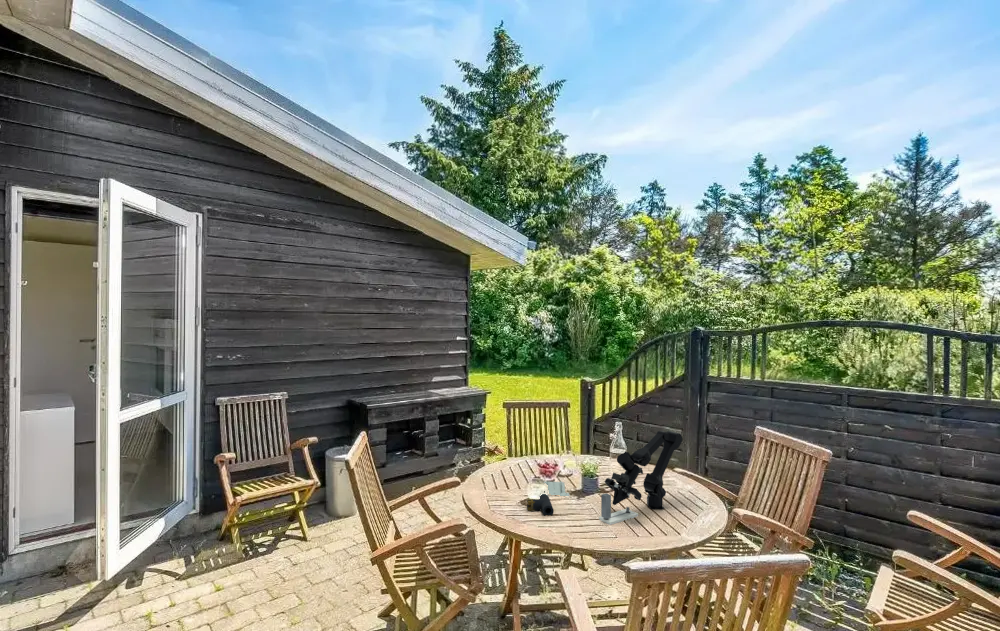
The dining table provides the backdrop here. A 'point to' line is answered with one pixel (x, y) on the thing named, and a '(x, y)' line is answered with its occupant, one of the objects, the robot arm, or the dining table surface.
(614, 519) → the bolt plate
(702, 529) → the dining table surface
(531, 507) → the pipe connector
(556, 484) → the metal bracket
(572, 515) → the dining table surface
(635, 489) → the robot arm
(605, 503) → the gray metal block
